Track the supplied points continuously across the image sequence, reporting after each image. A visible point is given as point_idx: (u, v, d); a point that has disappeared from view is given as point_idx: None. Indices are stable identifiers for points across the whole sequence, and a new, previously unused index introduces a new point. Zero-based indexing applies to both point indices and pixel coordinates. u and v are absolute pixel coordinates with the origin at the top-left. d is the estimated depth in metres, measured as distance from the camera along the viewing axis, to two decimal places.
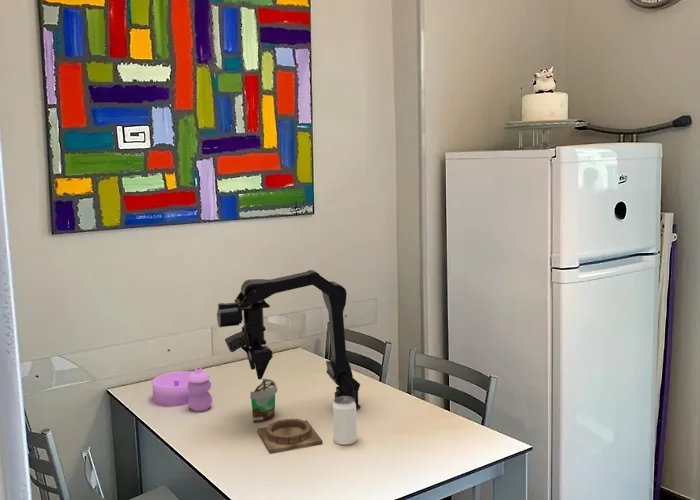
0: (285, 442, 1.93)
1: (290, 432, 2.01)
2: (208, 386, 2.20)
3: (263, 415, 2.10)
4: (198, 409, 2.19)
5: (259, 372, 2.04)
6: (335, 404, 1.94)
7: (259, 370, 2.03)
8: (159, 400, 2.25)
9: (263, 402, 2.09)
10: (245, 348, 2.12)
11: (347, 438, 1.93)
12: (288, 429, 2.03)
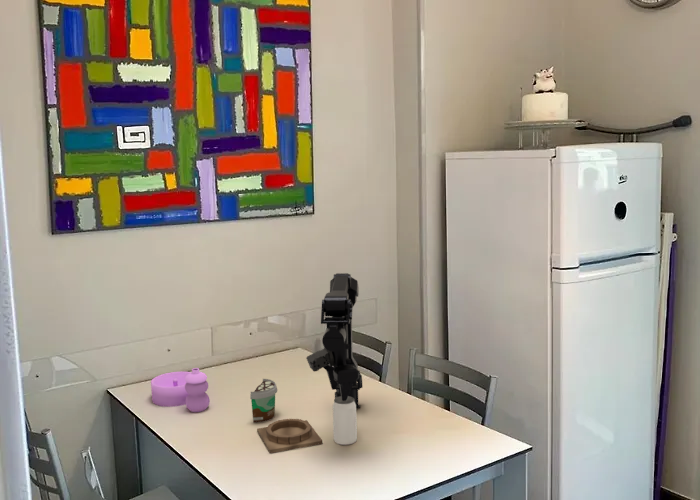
0: (285, 442, 1.93)
1: (290, 432, 2.01)
2: (205, 387, 2.19)
3: (263, 415, 2.10)
4: (195, 410, 2.19)
5: (344, 393, 1.90)
6: (335, 404, 1.94)
7: (344, 391, 1.89)
8: (158, 400, 2.25)
9: (263, 402, 2.09)
10: (326, 366, 1.98)
11: (347, 438, 1.93)
12: (288, 429, 2.03)
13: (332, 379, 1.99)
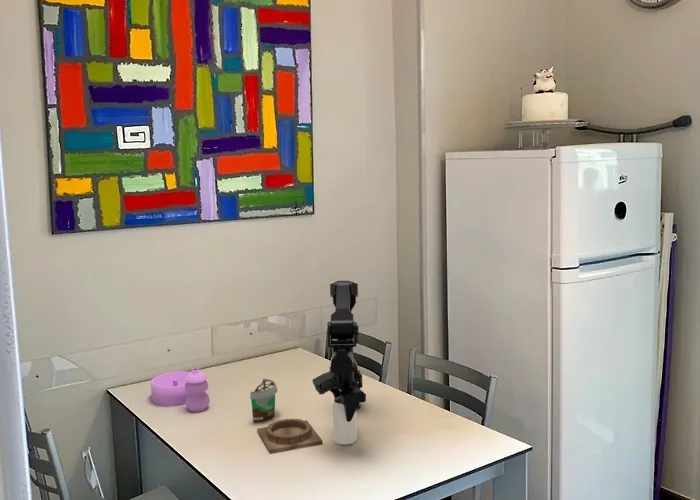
0: (285, 442, 1.93)
1: (290, 432, 2.01)
2: (205, 386, 2.19)
3: (263, 415, 2.10)
4: (195, 409, 2.19)
5: (349, 414, 1.91)
6: (335, 404, 1.94)
7: (349, 412, 1.91)
8: (157, 399, 2.26)
9: (263, 402, 2.09)
10: (333, 390, 1.98)
11: (347, 438, 1.93)
12: (288, 429, 2.03)
13: None
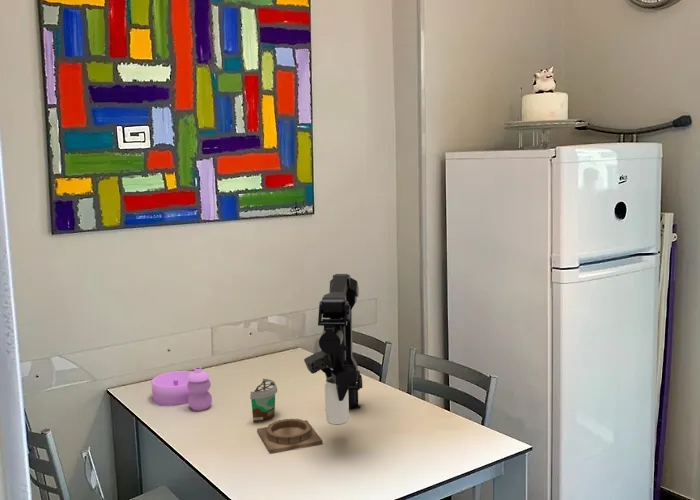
0: (285, 442, 1.93)
1: (290, 432, 2.01)
2: (208, 385, 2.20)
3: (263, 415, 2.10)
4: (198, 408, 2.20)
5: (341, 393, 1.91)
6: (327, 384, 1.93)
7: (341, 391, 1.90)
8: (159, 399, 2.26)
9: (263, 402, 2.09)
10: (325, 369, 1.97)
11: (339, 417, 1.93)
12: (288, 429, 2.03)
13: None
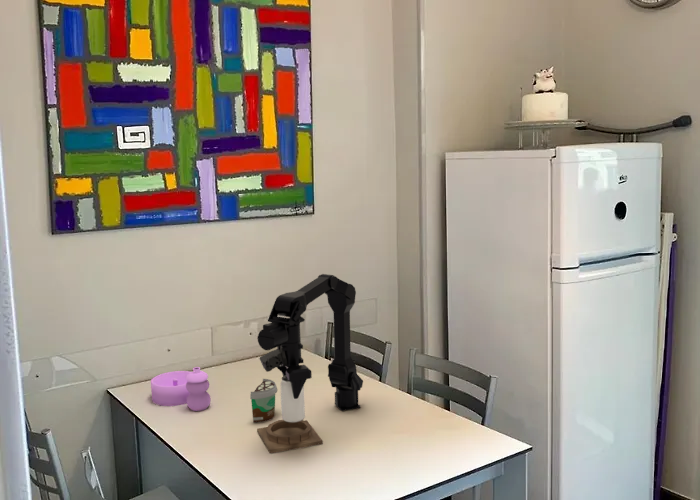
0: (285, 442, 1.93)
1: (290, 432, 2.01)
2: (206, 386, 2.20)
3: (263, 415, 2.10)
4: (196, 409, 2.20)
5: (295, 391, 1.93)
6: (282, 382, 1.95)
7: (295, 389, 1.92)
8: (158, 399, 2.26)
9: (263, 402, 2.09)
10: (281, 368, 1.99)
11: (295, 415, 1.95)
12: (288, 429, 2.03)
13: None
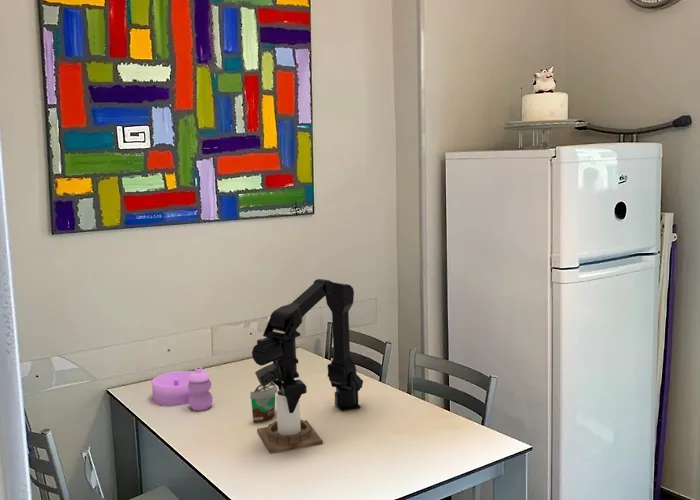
0: (285, 442, 1.93)
1: None
2: (209, 385, 2.20)
3: (263, 415, 2.10)
4: (199, 408, 2.20)
5: (291, 406, 1.94)
6: (278, 396, 1.96)
7: (291, 404, 1.93)
8: (160, 399, 2.26)
9: (263, 402, 2.09)
10: (277, 382, 2.00)
11: (290, 429, 1.96)
12: None
13: None
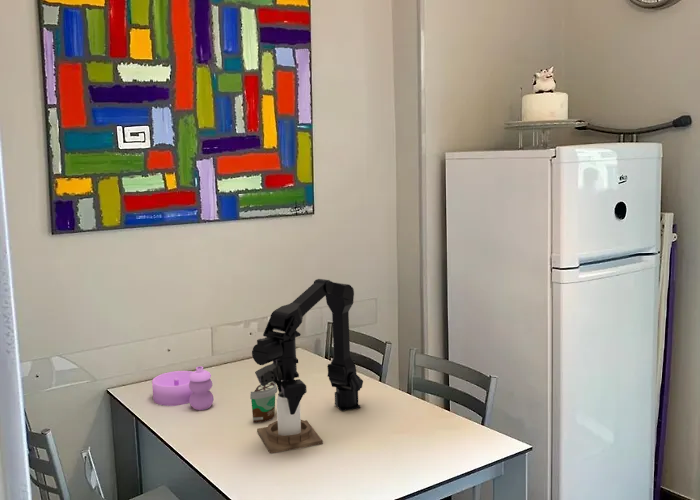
0: (285, 442, 1.93)
1: None
2: (210, 385, 2.21)
3: (263, 415, 2.10)
4: (200, 408, 2.20)
5: (292, 407, 1.92)
6: (278, 398, 1.96)
7: (292, 405, 1.92)
8: (160, 399, 2.26)
9: (263, 402, 2.09)
10: (276, 380, 2.01)
11: (291, 431, 1.96)
12: None
13: (282, 392, 2.02)
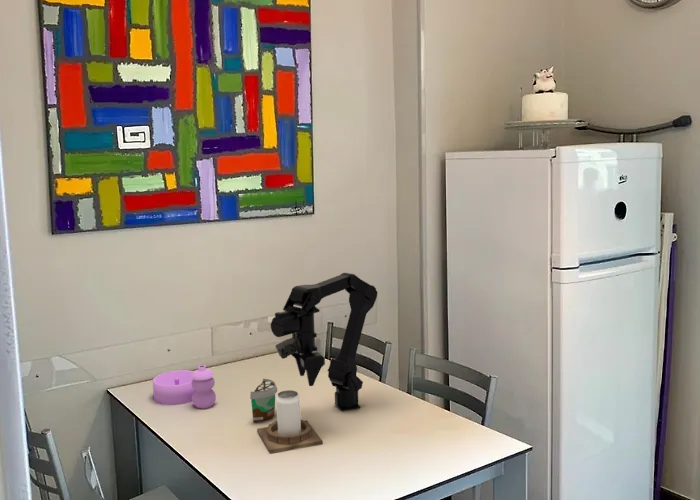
0: (285, 442, 1.93)
1: None
2: (212, 383, 2.22)
3: (263, 415, 2.10)
4: (203, 406, 2.22)
5: (311, 379, 2.02)
6: (278, 398, 1.96)
7: (311, 377, 2.02)
8: (162, 399, 2.26)
9: (263, 402, 2.09)
10: (294, 354, 2.10)
11: (291, 431, 1.96)
12: None
13: (300, 366, 2.11)
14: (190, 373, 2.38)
